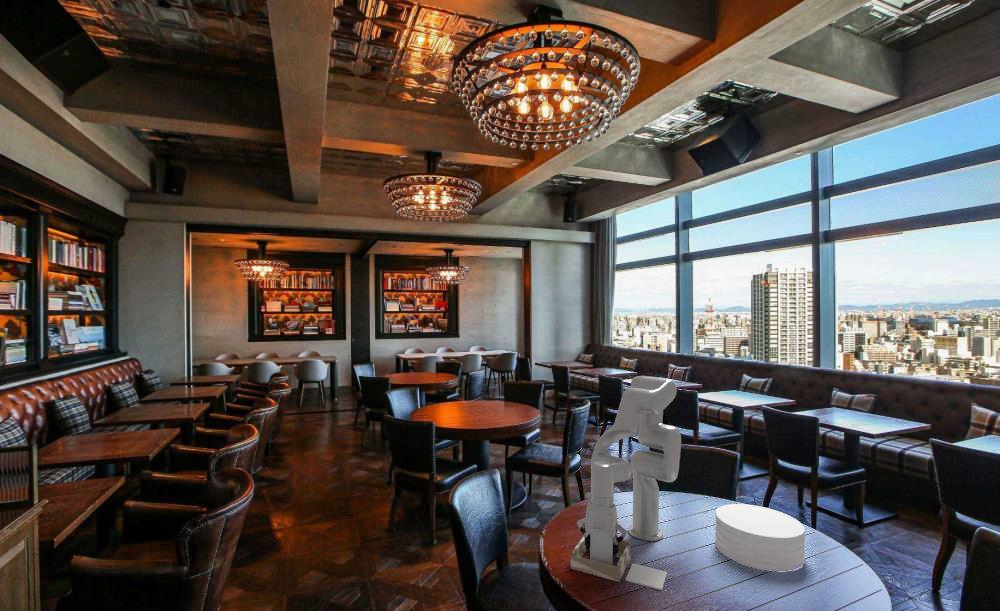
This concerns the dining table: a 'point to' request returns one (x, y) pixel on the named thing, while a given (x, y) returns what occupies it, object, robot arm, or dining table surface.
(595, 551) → the supplement box
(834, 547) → the dining table surface
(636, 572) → the mat
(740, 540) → the plate stack
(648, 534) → the robot arm
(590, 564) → the cold frame
